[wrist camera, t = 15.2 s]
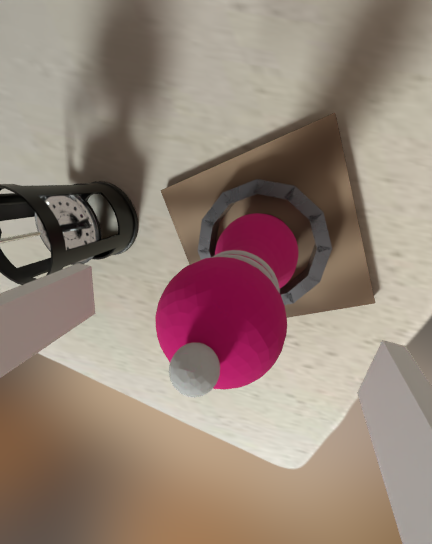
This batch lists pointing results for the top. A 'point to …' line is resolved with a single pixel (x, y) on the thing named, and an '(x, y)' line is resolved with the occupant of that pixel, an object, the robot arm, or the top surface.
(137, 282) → the top surface
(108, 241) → the french press
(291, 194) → the iron collar
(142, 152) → the top surface
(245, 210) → the collar plate
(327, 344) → the top surface
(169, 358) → the pepper mill
